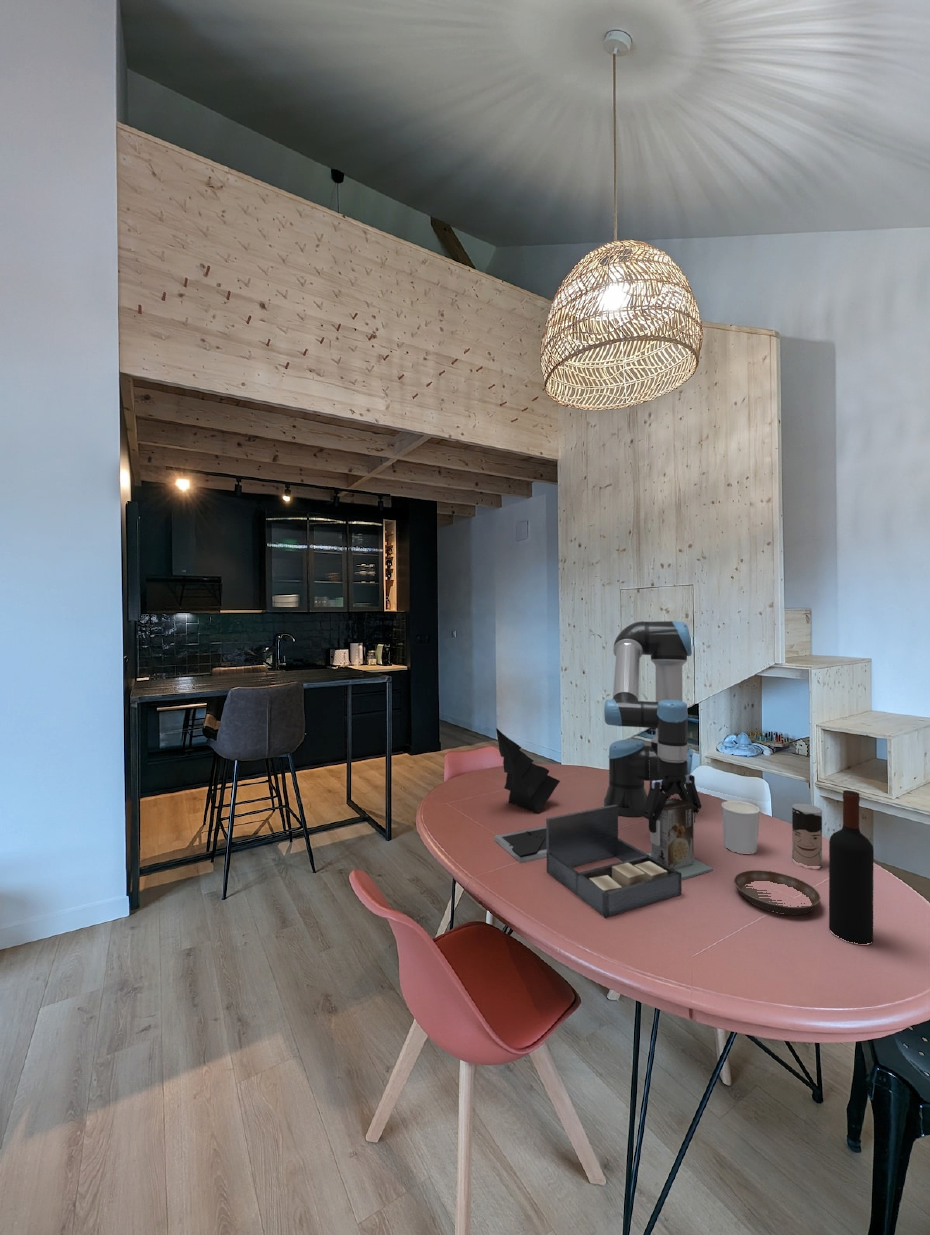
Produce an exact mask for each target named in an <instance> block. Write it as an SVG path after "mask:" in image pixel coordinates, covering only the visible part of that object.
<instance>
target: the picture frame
mask: <svg viewBox="0 0 930 1235" xmlns="http://www.w3.org/2000/svg"><path fill="white" fill-rule="evenodd" d="M494 841H495V842H496V843H497V844H498V845H499V846H500V847H502V849H504V850H505V851H506V852H507V853H508V854H510V856H512V857H513V859H514V858H515V860H516V861H518V862H519V864H520V863H521V864H523V863H525V862H531V861H535V860H539V859H545V858H547V836H546V825H543V826H538V827H533V828H526V829H523V830H518V831H512V832H508V833H503V834H498V835H497V834H496V835H494Z"/></svg>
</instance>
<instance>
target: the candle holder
mask: <svg viewBox="0 0 930 1235" xmlns="http://www.w3.org/2000/svg"><path fill="white" fill-rule="evenodd" d="M760 812H761V809H760V808H759V807H758V806H757V805H755V804H752V803H749V802H745V801H740V800H728V801H722V803H721V813H722V814H721V816H722V834H723V835H722V836H723V845H724V847H726V848H728V849H730V850H731V851H734V852H737V853H736V854H738V853H753V852H755V851H756V850H757V851H758V838H759V827H760V826H759V825H760ZM726 848H725V849H726ZM728 849H727V850H728ZM731 851H730V852H731ZM757 851H756V852H757ZM734 852H733V853H734Z"/></svg>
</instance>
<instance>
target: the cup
mask: <svg viewBox="0 0 930 1235" xmlns="http://www.w3.org/2000/svg"><path fill="white" fill-rule="evenodd" d="M791 807H792V808H791V809H792V813H791V814H792V816H791V817H792V819H791V820H792V824H791V828H792V829H791V834H792V836H791V838H792V839H791V840H792V842H791V843H792V844H791V848H792V850H791V852H792V853H791V854H792V855H791V858H793V859H794V860H795V861H796V862H798V863H802V864H804V865H807V866H821V865H822V866H823V810H822V808H820V807H819V806H815V805H812V804H808V803H794V804H792V806H791Z"/></svg>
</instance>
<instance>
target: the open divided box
mask: <svg viewBox="0 0 930 1235" xmlns="http://www.w3.org/2000/svg"><path fill="white" fill-rule="evenodd" d="M545 820H546V821H545V822H546V824H545V826H546V836H547V857H546V872H547V873H548V874H549V875H551V876H552V878H554V879H555V880H557V881H558V882H560V883H561V884H562V885H563V886H564V887H566V888H567V889H568V890H569V891H571V892H572V893H574V895H575V896H577V897H578V898H580V899H581V900H582V901H583V902H584V903H586V904H588V905H589V906H590V907H591V908H593V909H594V910H595V911H596V912H598V913H599V914H600V915H601V916H603V917H604V918H605V919H606V918H609V917H613V916H616V915H619V914H621V913H624V912H628V911H632V910H635V909H638V908H641V907H645V906H648V905H651V904H654V903H657V902H660V901H664V900H667V899H670V898H673V897H677V896H680V895H682V891H683V890H682V889H683V888H682V886H683V885H682V884H683V883H682V874H681V873H680V872H678V871H676V870H674V869H673V868H671V867H669V866H667V865H665V864H664V863H662V862H660V861H658V860H657V859H655V858H653V857H651V856H649V855H648V854H647V853H646V852H644V851H642V850H641V849H639V848H637V847H635V846H633V845H632V844H631V843H628V842H627V841H624V840H622V839H621V838H619V815H618V805H611V806H606V807H604V806H603V807H597V808H592V809H587V810H582V811H578V812H571V813H567V814H561V815H557V816H551V817H548V818H547V817H546V819H545ZM614 857H615V858H617V859H619V860H621V861H620V862H614V863H611V864H607V865H603V866H599V867H596V868H592V869H589V870H583V871H580V872H579V871H577V870H576V869H574V867H578V866H582V865H586V864H590V863H594V862H598V861H602V860H607V859H611V858H614ZM647 861H650V862H652V863H654V864H655V865H657V866H659V867H661V868H662V869H664V870H666V871H667V875H665V876H662V877H658V878H655V879H651V880H647V881H644V882H640V883H637V884H633V885H630V886H626V887H623V888H619V889H616V890H612V891H609V892H605V891H603V890H602V889H601V888H599V887H598V886H597V885H595V884H594V883H592V882H591V881H590V880H589V878H594V877H600V876H605V875H608V876H609V877H610V878H611V879H612V867H613V866H616V865H620V864H624V863H630V864H631V865H633V866H634V865H636V864H640V863H644V862H647Z"/></svg>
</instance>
